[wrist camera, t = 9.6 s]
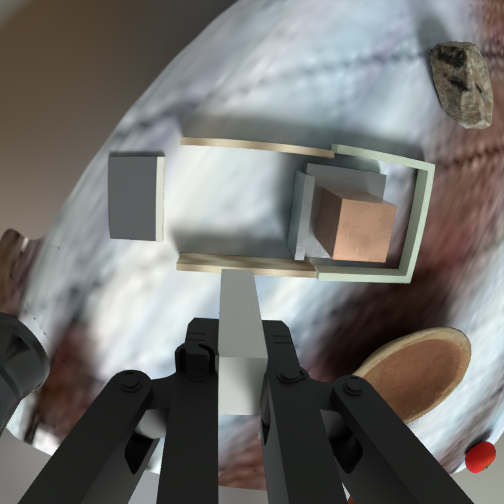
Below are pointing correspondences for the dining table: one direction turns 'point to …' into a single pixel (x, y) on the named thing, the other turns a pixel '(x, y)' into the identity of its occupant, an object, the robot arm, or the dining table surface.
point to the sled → (340, 214)
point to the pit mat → (136, 197)
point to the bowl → (418, 370)
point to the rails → (413, 232)
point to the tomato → (480, 457)
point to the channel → (241, 262)
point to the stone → (463, 83)
